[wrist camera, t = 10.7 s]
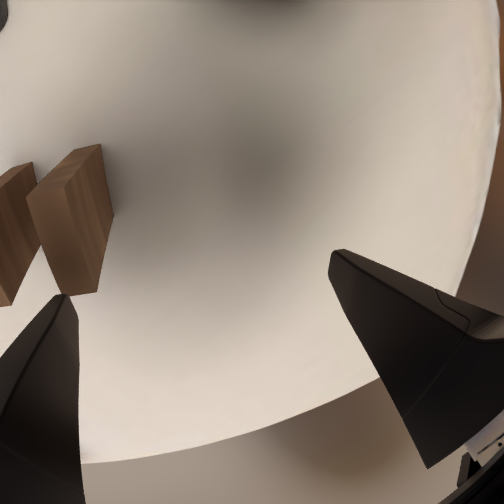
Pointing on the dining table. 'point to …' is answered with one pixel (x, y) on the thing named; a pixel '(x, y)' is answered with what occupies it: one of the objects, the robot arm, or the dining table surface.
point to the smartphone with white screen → (3, 13)
